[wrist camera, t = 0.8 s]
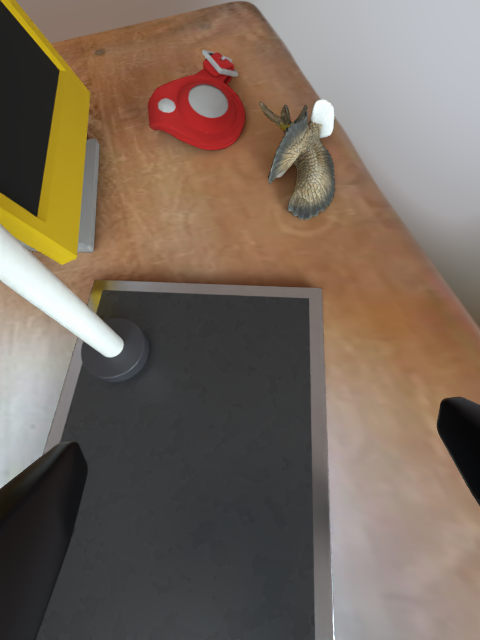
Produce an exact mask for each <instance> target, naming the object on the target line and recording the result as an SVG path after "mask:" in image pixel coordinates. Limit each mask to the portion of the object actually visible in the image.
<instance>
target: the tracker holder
mask: <svg viewBox="0 0 480 640" xmlns="http://www.w3.org/2000/svg"><path fill="white" fill-rule="evenodd" d="M202 54H203V55H204V56H205V57H206V59H205V60H204V62H203V68H204V69H203V70H201V71H200V72H198V73H197V74H195V75H191V76H187V77H183V78H180V79H177V80H174V81H171V82H169V83H166V84H164V85H162V86H160V87H158V88H157V89H156V90H155V91H154V93H153V94H152V96H151V97H150V99H149V102H148V114H149V126H150V128H151V129H154V130H162V131H165V132H167V133H169V134H171V135H173V136H174V137H175V138H177V139H179V140H181V141H183V142H185V143H188V144H190V145H192V146H195V147H198V148H201V149H205V150H219V149H223V148H226V147H228V146H230V145H232V144H233V143H234V142H235V141H236V140H237V139H238V138H239V136H240V134H241V132H242V129H243V126H244V123H245V110H244V107H243V104H242V102H241V100H240V98H239V96H238V95H237V94H236V93H235V92H234V91H233V90H232V89H231V88H230V87H229V86H228V83H229V82H230V80H231V78H232V76H233V77H238V73H237V71H236V70H235V69H234V65H233V64H232V60H231V59H230V58H228V57H224V56H223V55H221V54H220V53H214V52H211V51H207V50H203V51H202Z"/></svg>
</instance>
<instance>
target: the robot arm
mask: <svg viewBox="0 0 480 640" xmlns="http://www.w3.org/2000/svg"><path fill="white" fill-rule="evenodd" d="M437 430H438V433H439V435H440V437H441V439H442V441H443V443H444V444H445V446H446V448H447V450H448V452H449V454H450V455H451V457H452V459H453V461H454V463H455V465H456V466H457V468H458V470H459V472H460V474H461V475H462V477H463V479H464V481H465V483H466V485H467V486H468V488H469V490H470V491H471V493H472V495H473V496H474V498H475V499H476V501H477V502H478V504H479V506H480V405H479V404H476V403H474V402H472V401H470V400H467V399H465V398H463V397H452V398H445V399H443V400H442V401H441V404H440V409H439V415H438V420H437ZM87 475H88V465H87V462H86V460H85V457H84V455H83V452H82V450H81V448H80V445H79V443H77V442H76V441H69V442H61V443H58V444H56V445H55V446H54V447H53V448H51V449H50V450H49V451H47V452H46V453H45V454H44V455H42V456H41V457H40V458H39V459H37V460H36V461H35V462H34V463H32V464H31V465H30V466H29V467H27V468H26V469H25V470H23V471H22V472H21V473H20V474H18V475H17V476H16V477H15V478H13V479H12V480H11V481H10V482H8V483H7V484H6V485H4V486H3V487H2V488H1V489H0V640H36V638H37V635H38V632H39V629H40V627H41V624H42V621H43V618H44V615H45V612H46V610H47V607H48V604H49V601H50V598H51V596H52V593H53V590H54V587H55V584H56V581H57V579H58V576H59V573H60V570H61V567H62V565H63V562H64V559H65V556H66V553H67V550H68V547H69V544H70V541H71V538H72V534H73V531H74V527H75V523H76V519H77V515H78V511H79V507H80V503H81V499H82V495H83V491H84V487H85V483H86V479H87Z"/></svg>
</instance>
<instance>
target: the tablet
mask: <svg viewBox="0 0 480 640" xmlns="http://www.w3.org/2000/svg"><path fill="white" fill-rule="evenodd" d="M87 306H88V307H89V308H90V309H91V310H92V311H93V312H94V313H95V314H96V315H97V316H99V317H100V318H101V319H102V320H103V321H105V320H107V319H111V318H125V319H129V320H131V321H133V322H135V323H136V324H137V325H138V326H139V327H140V328H141V329H142V331H143V332H144V333H145V334H146V336H147V338H148V341H149V355H148V358H147V361H146V363H145V364H144V366H143V367H142V369H141V370H140V371H139V372H138V373H137V374H135V375H134V376H133V377H131V378H129V379H127V380H124V381H121V382H107V381H103V380H101V379H99V378H97V377H96V376H94V375H92V374H91V373H89V372H88V371H87V370H86V368H85V367H84V365H83V362H82V359H81V348H82V344H83V340H82V339H80V338H79V337H77V341H76V344H75V347H74V351H73V354H72V358H71V361H70V364H69V368H68V371H67V374H66V378H65V381H64V384H63V388H62V391H61V395H60V398H59V401H58V405H57V408H56V411H55V415H54V418H53V421H52V425H51V428H50V432H49V435H48V438H47V442H46V445H45V448H44V452H43V455H44V454H45V453H46V452H47V451H49V450H50V449H51V448H53V447H54V446H55V445H56V444H58V443H61V442H69V441H76V442H77V443H79V445H80V448H81V450H82V452H83V455H84V457H85V460H86V462H87V465H88V475H87V479H86V483H85V487H84V491H83V495H82V499H81V503H80V507H79V511H78V515H77V519H76V523H75V527H74V531H73V534H72V538H71V541H70V544H69V547H68V550H67V553H66V556H65V559H64V562H63V565H62V567H61V570H60V573H59V576H58V579H57V581H56V584H55V587H54V590H53V593H52V596H51V598H50V601H49V604H48V607H47V610H46V612H45V615H44V618H43V621H42V624H41V627H40V629H39V632H38V635H37V638H36V640H335V633H334V605H333V578H332V551H331V524H330V496H329V469H328V442H327V415H326V388H325V360H324V333H323V306H322V288H305V287H278V286H251V285H225V284H198V283H171V282H144V281H118V280H94V284H93V287H92V290H91V294H90V297H89V300H88V304H87Z"/></svg>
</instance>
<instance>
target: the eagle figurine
mask: <svg viewBox="0 0 480 640" xmlns="http://www.w3.org/2000/svg"><path fill="white" fill-rule="evenodd" d="M259 105H260V107H261V109H262V111H263V113H264V114H265V116H267V118H268V119H270V120H271V121H273V122H275V123H276V125H277V126H278V127H280V129H281V130H283V132H284V134H285V136H284V137H283V139H282V141H281V143H280V145H279V147H278V149H277V151H276V154H275V157H274V159H273V164H272V166H271V171H270V173H269V176H268V180H269V184H271V182H272V181H273V180H274V179H276V178H278V177H279V178H280V177H282V176H283V175H284V173H285V172H286V171H287V170H288V168H289V167H291V166H292V165H294V166H295V167H296V169H297V177H296V185H295V189H294V191H293V194H292V196H291V199H290V201H289V204H288V211H291V212H292V214H293V216H298V218H299V219H301V220H302V219H306V220H309V219H310V218H311V217H312V216H314V217H315V216H317V215H318V214H319V211H320V210H321V211H322V212H323V211H324V210H325V207H328V206H329V204H330V203H331V200H332V198H333V196H334V192H335V188H334V185H335V179H334V169H333V168H334V164H333V161H332V158H331V155H330V154H329V152H328V150H326V149H325V147H324V146H323V145H322V142H321V141H320V140H319V138H320V139H321V138H324V137H328V136H329V135H331V133H332V131H333V125H334V108H333V106H332V105H331V103H330V102H329V101H326V100H323V99H320V100H317V101H316V102H315V104H314V107H313V110H312V115H311V120H310V122H309V123H308V113H307V105H305V106H304V108H303V110H302V112H301V114H300V115H299V117H298V118H297V119H296V120H295V121H294V123H293V122H291V120H290V115H289V110H288V107H287V105H284V106H283V108H282V111H281V117H279V116H277V115H276V114H274V113H273V112H272V111H271V110H269V109H268V107H267V106H266V105H265V104H264V103H263V102H260V103H259Z"/></svg>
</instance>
